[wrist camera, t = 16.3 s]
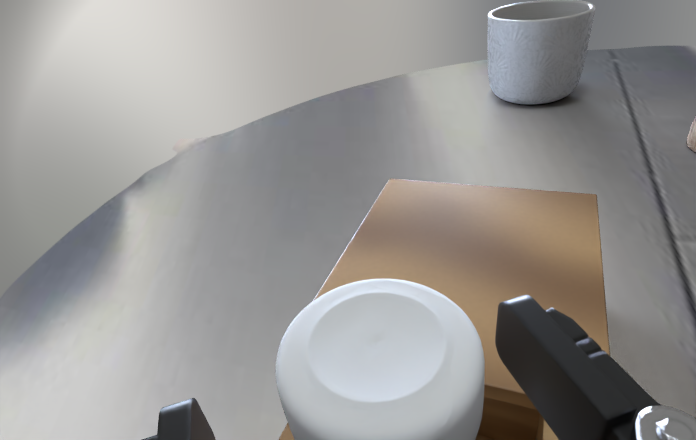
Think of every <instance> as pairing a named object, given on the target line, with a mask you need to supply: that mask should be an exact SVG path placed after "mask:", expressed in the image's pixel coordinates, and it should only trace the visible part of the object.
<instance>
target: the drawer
mask: <svg viewBox="0 0 696 440" xmlns="http://www.w3.org/2000/svg"><path fill="white" fill-rule="evenodd" d="M279 440H294V437H293V435H292V432H291V430H290V427H289V424H288V423H287V425H286V427H285V429H284V430H283V432H282V434H281V436H280V438H279ZM475 440H559V439H558V438H557V436H556V435H555V434H554V432H553V431H552V429H551V428H550V427H549V425H548V424H547V423H546V421H545V420H544V418H543V417H542V416H541V414H540V413H539V412H538V410H536V409H532V408H528V407H524V406H520V405H516V404H512V403H508V402H504V401H500V400H496V399H492V398H488V397H484V401H483V413H482V419H481V423H480V427H479V430H478V433H477V436H476V439H475Z"/></svg>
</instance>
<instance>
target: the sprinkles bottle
mask: <svg viewBox="0 0 696 440" xmlns="http://www.w3.org/2000/svg"><path fill="white" fill-rule="evenodd" d="M275 372H276V382H277V388H278V392H279V396H280V399H281V403H282V406H283V410H284V413H285V416H286V419H287V421H288V424H289V427H290V430H291V432H292V435H293V437H294V440H475V439H476V436H477V433H478V430H479V427H480V423H481V419H482V413H483V401H484V374H485V360H484V353H483V348H482V343H481V339H480V337H479V335H478V333H477V330H476V328H475V327H474V325H473V323H472V322H471V320H470V319H469V318H468V316H467V315H466V314H465V312H464V311H463V310H462V309H461V308H460V307H459V306H458V305H456V304H455V303H454V302H453V301H451V300H450V299H449V298H447V297H446V296H445V295H443V294H441V293H439V292H437V291H436V290H433V289H431V288H429V287H427V286H424V285H421V284H418V283H414V282H410V281H405V280H398V279H369V280H362V281H357V282H353V283H349V284H346V285H343V286H340V287H337V288H335V289H333V290H331V291H329V292H327V293H325V294H323V295H321V296H320V297H318V298H317V299H316V300H314V301H313V302H311V303H310V304H309V305H308V306H306V307H305V308H304V309H303V310H302V311H301V312H300V313H299V314H298V315H297V316H296V317H295V319H294V320H293V321H292V322H291V324H290V325H289V327H288V329H287V330H286V332H285V334H284V336H283V338H282V340H281V343H280V346H279V350H278V354H277V358H276V369H275Z"/></svg>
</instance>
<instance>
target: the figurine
mask: <svg viewBox="0 0 696 440" xmlns="http://www.w3.org/2000/svg"><path fill="white" fill-rule="evenodd" d="M687 145H688V147H689V148H690V149H691V150H693V151H694V152H696V117H695V119H694V121H693V123H692V126H691V128H690V131H689V134H688V137H687Z"/></svg>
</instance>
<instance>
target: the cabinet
mask: <svg viewBox="0 0 696 440" xmlns="http://www.w3.org/2000/svg"><path fill="white" fill-rule="evenodd" d="M369 279H398V280H405V281H410V282H414V283H418V284H421V285H424V286H427V287H429V288H431V289H433V290H436V291H437V292H439V293H441V294H443V295H445V296H446V297H447V298H449V299H450V300H451V301H453V302H454V303H455V304H456V305H458V306H459V307H460V308H461V309H462V310H463V311H464V312H465V314H466V315H467V316H468V318H469V319H470V320H471V322H472V323H473V325H474V327H475V328H476V330H477V333H478V335H479V337H480V339H481V343H482V348H483V353H484V360H485V374H484V397H488V398H492V399H496V400H500V401H504V402H508V403H512V404H516V405H520V406H524V407H528V408H532V409H536V408H535V406H534V405H533V403H532V402H531V401H530V399H529V398H528V397H527V395H526V394H525V392H524V391H523V390H522V388H521V387H520V386H519V384H518V383H517V382H516V380H515V379H514V377H513V376H512V375H511V373H510V372H509V371H508V369H507V368H506V366H505V365H504V364H503V362H502V360H501V359H500V357H499V354H498V352H497V349H496V344H495V336H496V324H497V313H498V305H499V303H501V302H503V301H507V300H510V299H513V298H516V297H519V296H522V295H529V296H531V297H532V298H533V299H535V301H536V302H537V303H538V304H539V305H540V306H541V307H542V308H543V309H544V310H547V309H550V308H554V309H556V310H557V311H559V312H561V313H563V314H565V315H566V316H568V317H570V318H572V319H573V320H574V321H575V322H576V323H577V324H578V325H579V326H580V327H581V328H582V329H583V330H584V331H585V332H586V333H587V334H588V336H589V337H590V338H592V339H593V340H594V341H595V342H596V343H597V344H598V345H599V346H600V347H601V349H602V350H604V351H605V352H606V353H607V354H608V355H609V356H610V351H609V338H608V326H607V314H606V302H605V290H604V277H603V265H602V253H601V241H600V229H599V216H598V204H597V195H596V194H584V193H571V192H558V191H545V190H532V189H519V188H506V187H493V186H480V185H467V184H454V183H441V182H428V181H415V180H402V179H389V181H388V182H387V184H386V186H385V187H384V189H383V190H382V192H381V194H380V195H379V197H378V198H377V200H376V202H375V203H374V205H373V206H372V208H371V210H370V211H369V213H368V214H367V216H366V217H365V219H364V221H363V222H362V224H361V225H360V227H359V229H358V230H357V232H356V233H355V235H354V237H353V238H352V240H351V241H350V243H349V245H348V246H347V248H346V249H345V251H344V253H343V254H342V256H341V257H340V259H339V261H338V262H337V264H336V265H335V267H334V269H333V270H332V272H331V273H330V275H329V277H328V278H327V280H326V281H325V283H324V284H323V286H322V288H321V289H320V291H319V292H318V294H317V296H316V297H315V299H314V300H316V299H317V298H318V297H320V296H321V295H323V294H325V293H327V292H329V291H331V290H333V289H335V288H337V287H340V286H343V285H346V284H349V283H353V282H357V281H362V280H369ZM314 300H313V301H314ZM536 410H537V409H536Z"/></svg>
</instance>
